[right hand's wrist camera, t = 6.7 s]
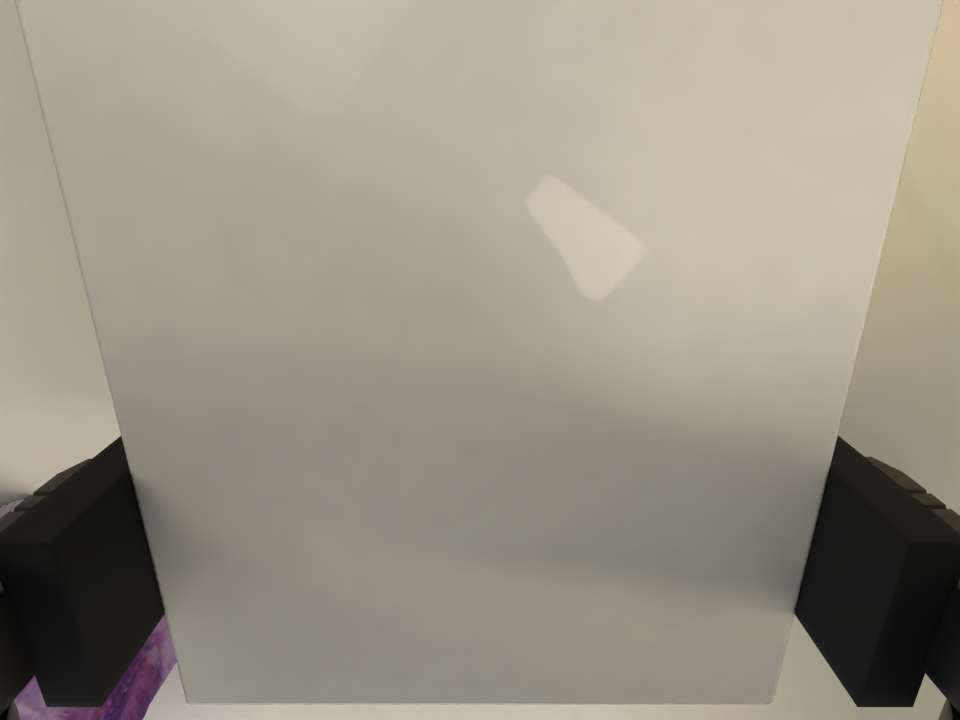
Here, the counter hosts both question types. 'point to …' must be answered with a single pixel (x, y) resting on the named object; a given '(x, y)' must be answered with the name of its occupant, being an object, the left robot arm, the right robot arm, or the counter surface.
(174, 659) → the figurine
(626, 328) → the cabinet
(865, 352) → the counter surface
